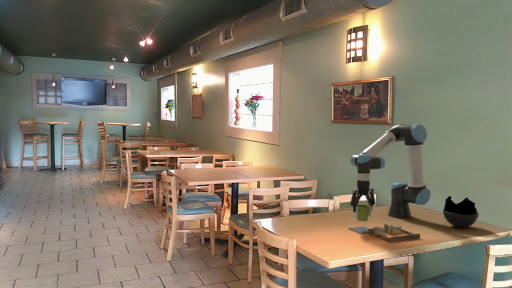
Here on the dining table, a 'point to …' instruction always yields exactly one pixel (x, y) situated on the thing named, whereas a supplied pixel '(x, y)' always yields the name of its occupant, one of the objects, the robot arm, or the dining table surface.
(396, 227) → the offcut right
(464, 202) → the coal bowl
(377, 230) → the offcut left
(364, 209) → the plant pot
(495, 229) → the dining table surface
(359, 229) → the mat
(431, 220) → the dining table surface
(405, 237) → the dark brown tray
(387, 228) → the offcut top
